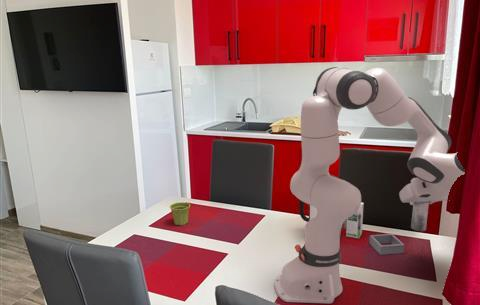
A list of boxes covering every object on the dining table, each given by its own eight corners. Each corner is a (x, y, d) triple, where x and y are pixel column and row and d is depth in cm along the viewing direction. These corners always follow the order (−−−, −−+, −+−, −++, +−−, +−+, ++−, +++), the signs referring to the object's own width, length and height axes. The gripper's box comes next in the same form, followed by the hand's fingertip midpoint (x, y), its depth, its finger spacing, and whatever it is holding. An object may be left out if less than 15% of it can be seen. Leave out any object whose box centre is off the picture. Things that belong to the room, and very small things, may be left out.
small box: (346, 229, 169) (347, 212, 167) (336, 228, 170) (337, 211, 168) (346, 224, 174) (347, 208, 172) (337, 223, 175) (337, 207, 173)
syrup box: (345, 236, 162) (347, 204, 159) (348, 230, 167) (350, 200, 164) (359, 239, 160) (361, 206, 156) (362, 233, 165) (364, 202, 161)
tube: (415, 231, 139) (419, 195, 135) (408, 225, 144) (411, 190, 140) (428, 230, 139) (433, 194, 136) (421, 224, 144) (424, 190, 141)
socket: (380, 254, 146) (380, 246, 146) (369, 243, 156) (369, 235, 155) (403, 253, 147) (404, 244, 147) (391, 241, 157) (392, 233, 156)
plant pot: (168, 221, 182) (167, 204, 179) (187, 217, 185) (186, 200, 183) (174, 228, 173) (172, 211, 171) (193, 224, 177) (192, 207, 175)
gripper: (464, 176, 131) (443, 193, 142) (407, 178, 129) (391, 196, 141) (471, 192, 127) (449, 209, 139) (413, 195, 126) (396, 211, 137)
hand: (419, 202), depth 140 cm, fingers closed on tube, 5 cm apart
